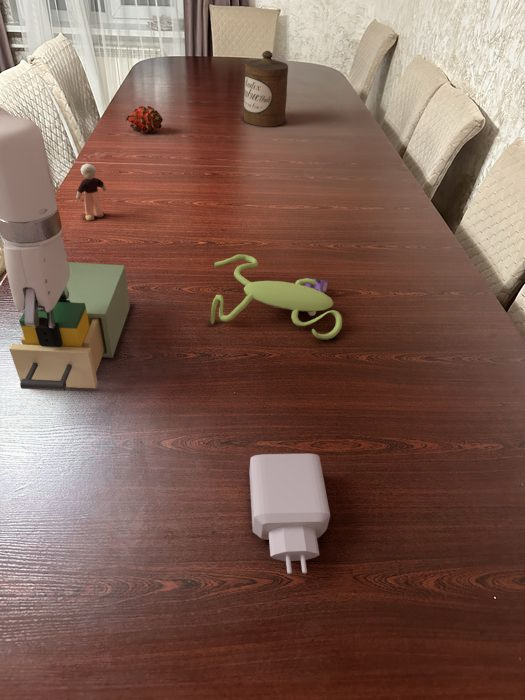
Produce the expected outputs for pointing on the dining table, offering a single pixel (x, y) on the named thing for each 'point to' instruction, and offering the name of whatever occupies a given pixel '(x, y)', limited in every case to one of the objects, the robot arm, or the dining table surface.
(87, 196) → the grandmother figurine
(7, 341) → the dining table surface
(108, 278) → the cabinet
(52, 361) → the drawer
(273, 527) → the charger
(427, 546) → the dining table surface
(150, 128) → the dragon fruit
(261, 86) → the wooden container
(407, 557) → the dining table surface
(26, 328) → the sponge
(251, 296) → the figurine
